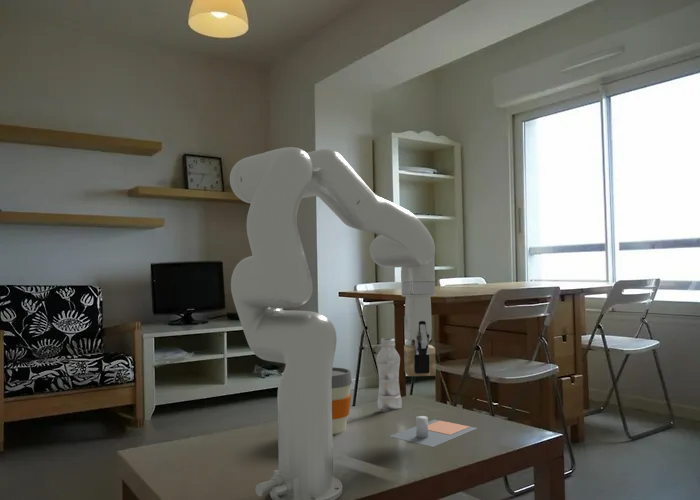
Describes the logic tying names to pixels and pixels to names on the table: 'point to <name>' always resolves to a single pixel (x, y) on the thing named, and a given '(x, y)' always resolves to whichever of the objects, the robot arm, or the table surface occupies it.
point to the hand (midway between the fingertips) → (419, 369)
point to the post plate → (432, 432)
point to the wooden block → (409, 361)
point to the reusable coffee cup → (340, 398)
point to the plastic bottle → (388, 376)
